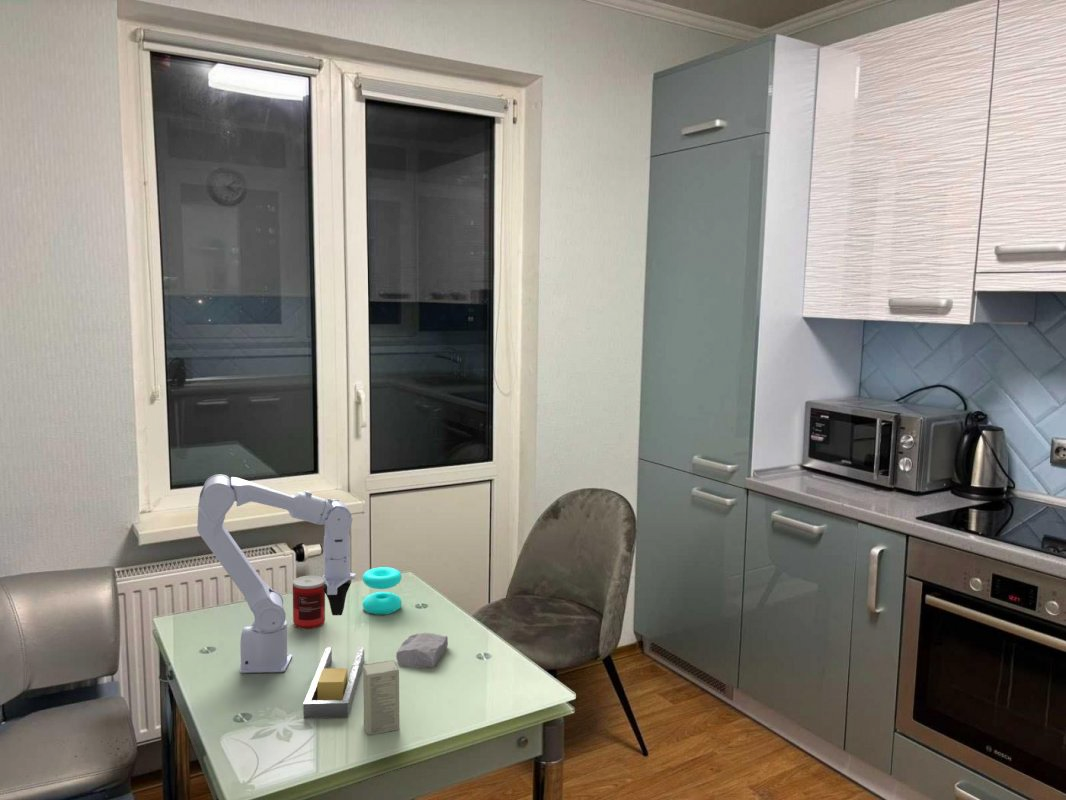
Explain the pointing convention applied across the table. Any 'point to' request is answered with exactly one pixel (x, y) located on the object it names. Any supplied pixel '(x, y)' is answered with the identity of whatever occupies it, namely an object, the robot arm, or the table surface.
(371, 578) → the donuts
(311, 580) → the canned food
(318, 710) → the chute
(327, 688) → the block
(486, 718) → the table surface
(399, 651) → the stone block
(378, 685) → the skincare box
